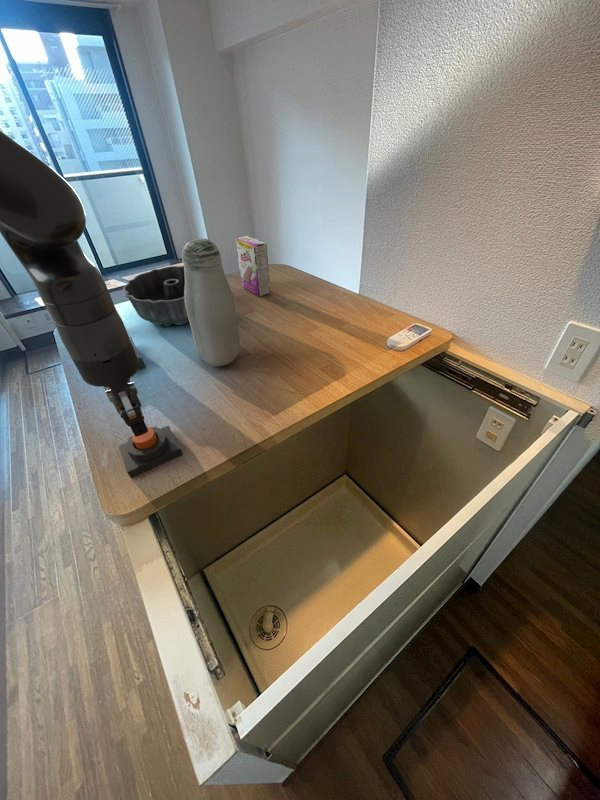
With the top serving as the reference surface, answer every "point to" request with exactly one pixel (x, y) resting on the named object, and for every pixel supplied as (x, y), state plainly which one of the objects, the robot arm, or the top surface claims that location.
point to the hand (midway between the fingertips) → (141, 432)
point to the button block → (150, 452)
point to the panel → (138, 356)
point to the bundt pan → (159, 295)
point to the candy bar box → (253, 265)
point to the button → (145, 439)
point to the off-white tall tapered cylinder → (210, 303)
